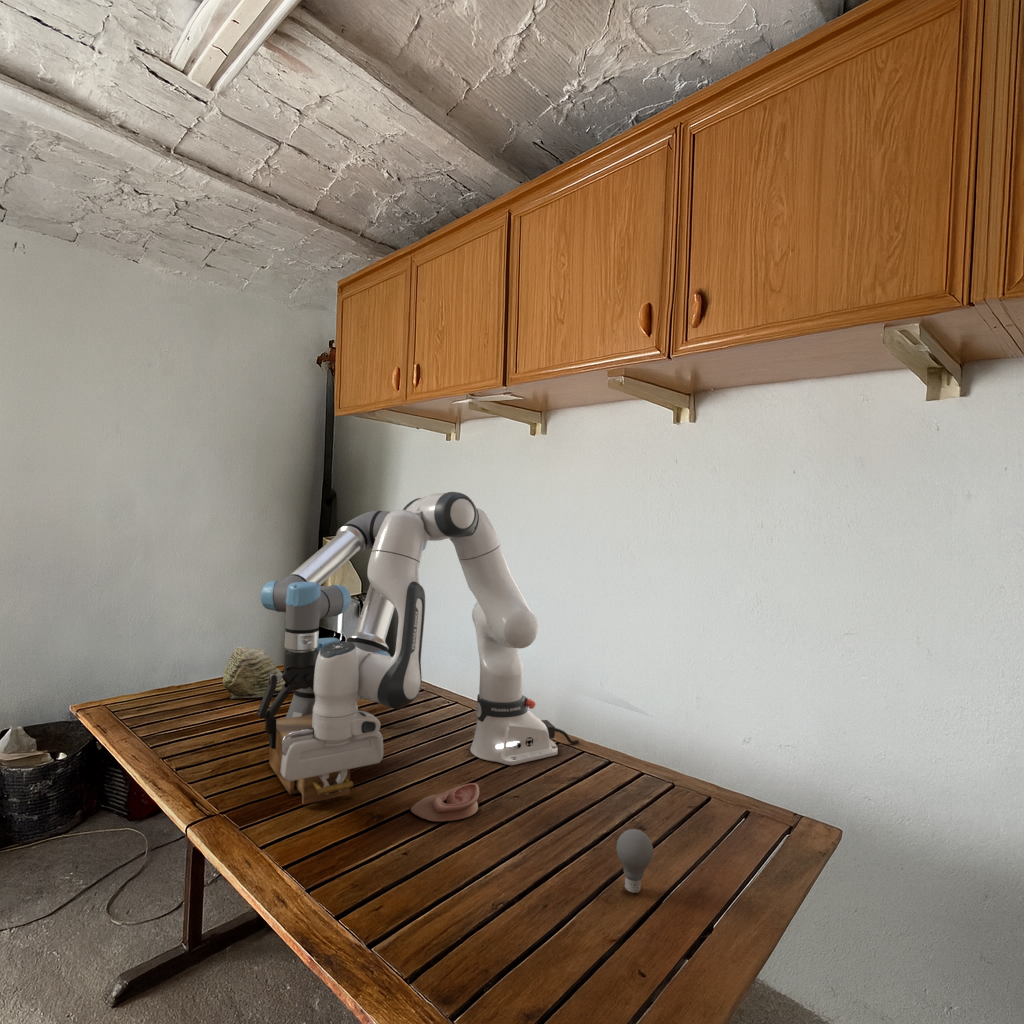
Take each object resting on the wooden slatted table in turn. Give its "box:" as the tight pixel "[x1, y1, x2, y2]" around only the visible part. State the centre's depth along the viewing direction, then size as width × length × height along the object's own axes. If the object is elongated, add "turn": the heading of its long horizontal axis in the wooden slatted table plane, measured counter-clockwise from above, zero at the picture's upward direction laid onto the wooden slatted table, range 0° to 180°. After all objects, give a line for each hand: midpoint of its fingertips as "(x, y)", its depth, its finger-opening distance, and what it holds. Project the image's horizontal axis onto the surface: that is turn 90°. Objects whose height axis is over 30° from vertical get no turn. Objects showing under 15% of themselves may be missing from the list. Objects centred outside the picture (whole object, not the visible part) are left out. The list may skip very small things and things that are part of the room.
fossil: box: [222, 646, 285, 699], centre depth 198 cm, size 9×18×15 cm, turn 132°
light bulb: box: [615, 828, 654, 894], centre depth 106 cm, size 6×6×10 cm
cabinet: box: [268, 714, 313, 796], centre depth 144 cm, size 18×11×10 cm, turn 35°
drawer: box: [294, 769, 354, 806], centre depth 135 cm, size 22×10×8 cm, turn 35°
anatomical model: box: [410, 782, 480, 822], centre depth 131 cm, size 13×4×12 cm
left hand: (297, 742), depth 148 cm, fingers closed on cabinet, 11 cm apart
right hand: (332, 792), depth 128 cm, fingers closed, pressing on drawer
